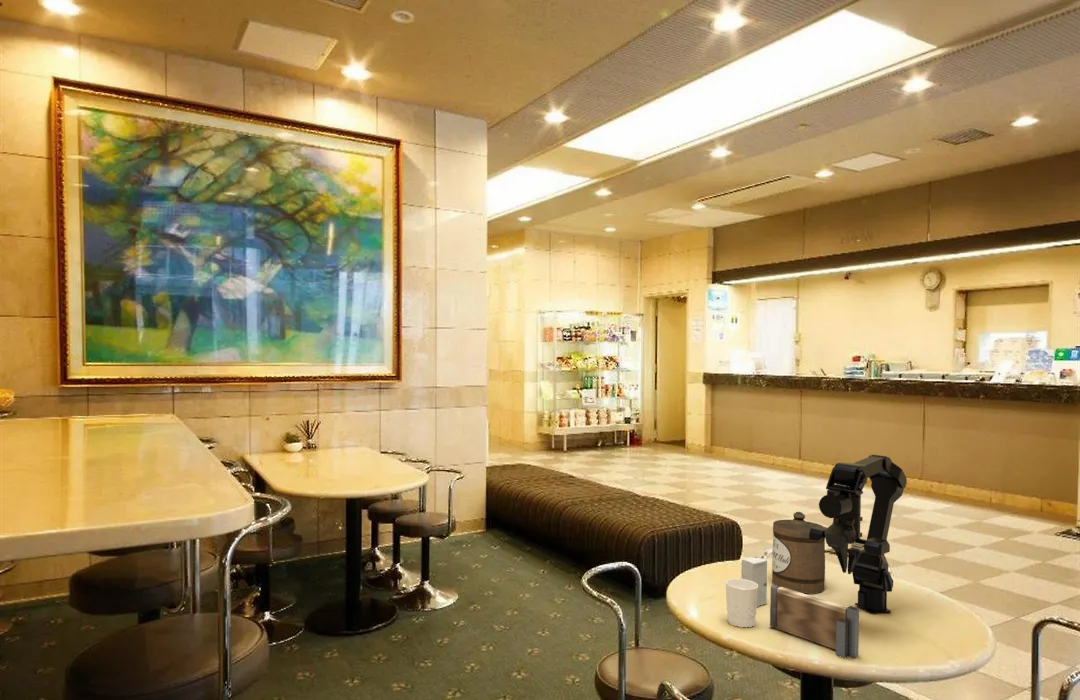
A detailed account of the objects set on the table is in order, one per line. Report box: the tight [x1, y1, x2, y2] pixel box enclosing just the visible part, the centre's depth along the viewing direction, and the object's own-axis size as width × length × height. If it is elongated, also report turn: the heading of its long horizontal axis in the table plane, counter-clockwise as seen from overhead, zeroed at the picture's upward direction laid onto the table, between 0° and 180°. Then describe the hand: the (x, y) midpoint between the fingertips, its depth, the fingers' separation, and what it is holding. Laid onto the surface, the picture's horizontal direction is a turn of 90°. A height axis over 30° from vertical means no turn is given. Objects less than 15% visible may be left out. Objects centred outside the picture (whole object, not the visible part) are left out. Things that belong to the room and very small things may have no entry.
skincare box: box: [740, 556, 768, 607], centre depth 183 cm, size 6×4×12 cm
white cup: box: [725, 578, 758, 629], centre depth 169 cm, size 8×8×10 cm
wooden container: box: [771, 511, 826, 595], centre depth 198 cm, size 15×15×22 cm
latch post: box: [835, 605, 860, 659], centre depth 151 cm, size 4×4×11 cm
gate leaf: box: [769, 584, 848, 650], centre depth 160 cm, size 19×2×10 cm, turn 40°
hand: (847, 573), depth 170 cm, fingers closed
